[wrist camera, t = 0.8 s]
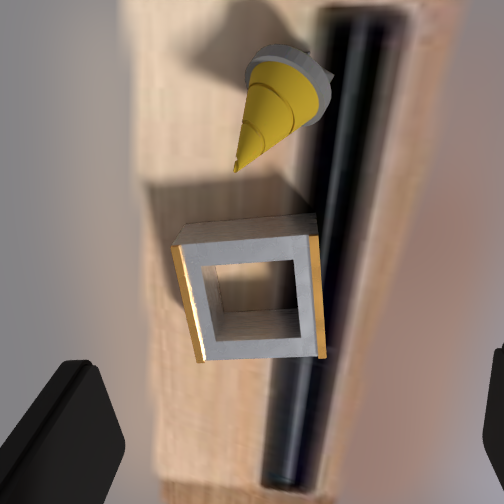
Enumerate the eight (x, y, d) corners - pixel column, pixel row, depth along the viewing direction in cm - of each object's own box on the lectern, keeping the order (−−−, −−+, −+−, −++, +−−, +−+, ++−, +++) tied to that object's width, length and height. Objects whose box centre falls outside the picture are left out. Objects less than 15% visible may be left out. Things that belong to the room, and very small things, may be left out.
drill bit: (351, 92, 28) (284, 212, 25) (280, 78, 30) (210, 187, 27) (349, 17, 24) (266, 152, 21) (265, 7, 26) (179, 127, 23)
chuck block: (185, 224, 33) (170, 247, 29) (315, 212, 32) (318, 235, 28) (207, 330, 37) (196, 363, 33) (323, 324, 36) (326, 358, 32)
